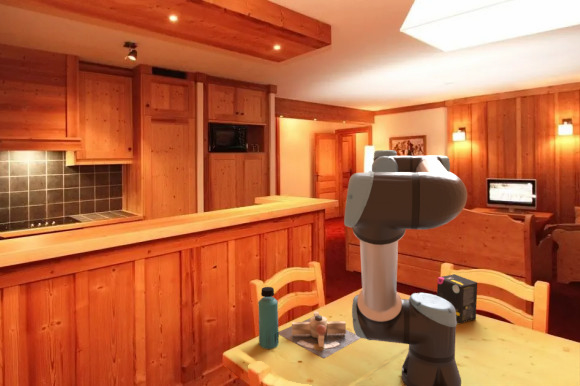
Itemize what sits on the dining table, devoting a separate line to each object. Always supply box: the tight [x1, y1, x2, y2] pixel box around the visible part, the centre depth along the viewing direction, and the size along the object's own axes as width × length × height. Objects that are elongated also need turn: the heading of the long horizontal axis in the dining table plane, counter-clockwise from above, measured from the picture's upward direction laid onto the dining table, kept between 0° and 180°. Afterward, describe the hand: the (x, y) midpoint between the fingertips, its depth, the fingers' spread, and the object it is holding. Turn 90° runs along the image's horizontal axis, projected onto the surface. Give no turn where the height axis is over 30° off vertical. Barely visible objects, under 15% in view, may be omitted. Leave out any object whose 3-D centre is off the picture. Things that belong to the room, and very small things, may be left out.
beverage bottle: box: [257, 286, 280, 350], centre depth 117 cm, size 6×7×20 cm
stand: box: [278, 318, 361, 359], centre depth 124 cm, size 22×19×2 cm
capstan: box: [291, 310, 347, 347], centre depth 123 cm, size 18×19×7 cm
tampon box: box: [436, 274, 478, 325], centre depth 140 cm, size 11×9×15 cm
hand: (383, 264), depth 126 cm, fingers closed
